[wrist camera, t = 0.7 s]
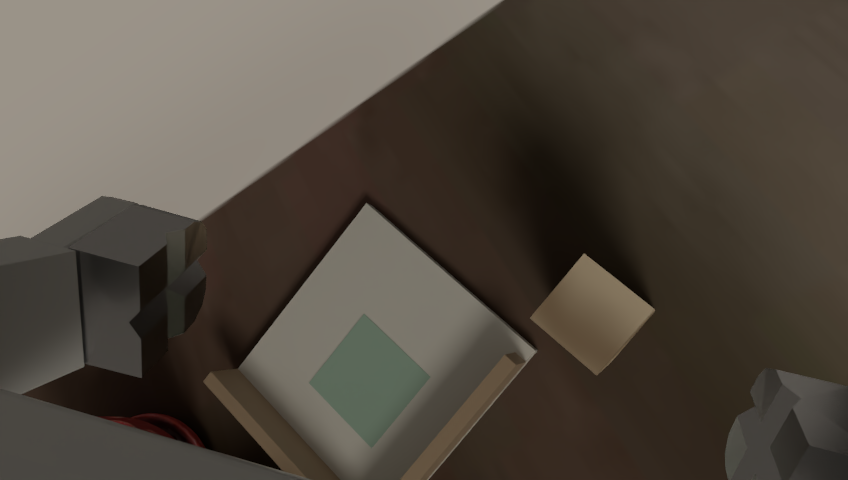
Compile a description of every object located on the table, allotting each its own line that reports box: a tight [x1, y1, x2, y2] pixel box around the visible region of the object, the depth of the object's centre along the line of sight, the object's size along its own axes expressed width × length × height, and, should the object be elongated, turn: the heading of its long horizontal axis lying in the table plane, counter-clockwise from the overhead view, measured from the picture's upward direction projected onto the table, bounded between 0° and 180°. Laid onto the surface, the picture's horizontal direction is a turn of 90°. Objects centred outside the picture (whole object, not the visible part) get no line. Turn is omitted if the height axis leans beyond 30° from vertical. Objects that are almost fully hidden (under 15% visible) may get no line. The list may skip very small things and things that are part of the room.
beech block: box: [530, 254, 655, 375], centre depth 41 cm, size 4×4×12 cm
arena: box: [203, 203, 538, 480], centre depth 50 cm, size 18×17×4 cm
